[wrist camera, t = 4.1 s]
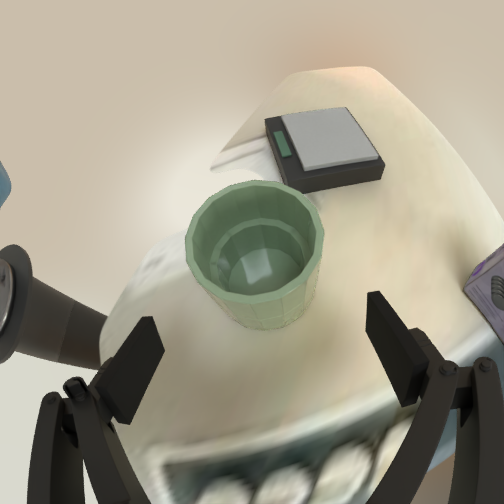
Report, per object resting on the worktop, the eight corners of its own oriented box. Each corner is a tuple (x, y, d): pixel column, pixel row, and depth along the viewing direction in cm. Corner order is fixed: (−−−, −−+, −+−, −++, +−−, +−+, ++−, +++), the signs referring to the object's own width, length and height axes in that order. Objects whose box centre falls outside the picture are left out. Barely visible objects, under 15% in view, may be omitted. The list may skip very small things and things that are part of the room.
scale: (288, 197, 34) (287, 177, 31) (266, 133, 40) (263, 114, 37) (380, 179, 33) (387, 160, 30) (344, 121, 39) (346, 102, 36)
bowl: (208, 320, 29) (167, 287, 19) (231, 235, 33) (207, 176, 23) (305, 338, 26) (313, 314, 17) (319, 247, 30) (328, 187, 21)
